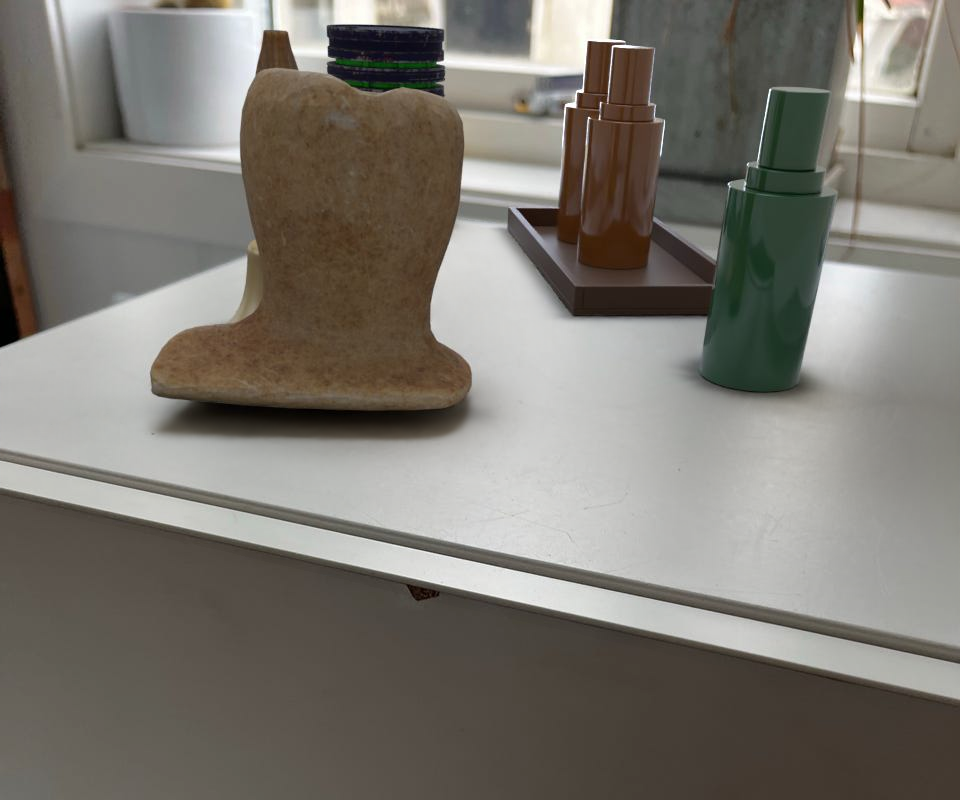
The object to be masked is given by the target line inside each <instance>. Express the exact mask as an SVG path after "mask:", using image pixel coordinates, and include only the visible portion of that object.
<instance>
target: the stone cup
mask: <svg viewBox="0 0 960 800" xmlns="http://www.w3.org/2000/svg"><path fill="white" fill-rule="evenodd" d="M464 156H465V131H464V122H463V120H462V117H461V115H460V112H459V111H458V109H457V107H456V105H455V104H454V103H452V102H451V101H449V100H448V99H446V98H445V97H444V98H443V97H441V96H439V95H435V94H432V93H429V92H425V91H421V90H417V89H410V88H404V87H401V88H398V89H393V90H390V91H386V92H383V93H376V92H366V91H361V90H359V89H357V88H354V87H351V86H350V85H349V84H348V83H346V82H344V81H342V80H340V79H338V78H336V77H334V76H332V75H330V74H328V73H326V72H325V73H323V72H316V71H309V70H299V69H298V70H295V69H285V68H270V69H265V70H262V71H261V72H259V73H258V74H257V75H256V76H255V75H254V77H253V79H252V81H251V83H250V85H249V87H248V89H247V92H246V95H245V98H244V102H243V105H242V109H241V117H240V128H239V158H240V159H239V161H240V171H241V179H242V182H243V187H244V193H245V198H246V205H247V209H248V214H249V218H250V225H251V227H252V231H253V234H254V238H255V239H256V243H257V247H258V251H259V256H260V261H261V265H262V274H263V295H262V299H261V301H260V304H259V306H258V307H257V309H256V310H255V311H254V312H253V313H252V314H251V315H249V316H247V317H246V318H244V319H243V320H241V321H239V322H235V323H228V322H227V323H215V324H209V325H207V324H206V325H199V326H193V327H191V328H185V329H184V330H182V331H180V332H178V333H176V334H174V336H172V337H171V338H170V339H168V341H167V342H166V343H165V344H164V345H163V346H162V347H161V349H160V351H159V352H158V354H157V356H156V357H155V359H154V360H153V363H152V365H151V367H150V371H149V376H150V386H151V388H150V389H151V390H150V391H151V394H152V395H154V396H156V397H158V398H163V399H169V400H179V401H190V402H198V403H199V402H200V403H212V404H214V403H215V404H226V405H237V406H250V407H252V406H253V407H266V408H280V409H296V410H297V409H299V410H302V409H311V410H331V411H333V410H334V411H369V412H371V411H372V412H373V411H375V412H376V411H422V410H423V411H424V410H439V409H445V408H449V407H451V406H454V405H456V404H458V403H460V402H461V401H462V400H463V399H464V398H465V397H466V396H467V395H468V393H469V392H470V391H471V389H472V385H473V372H472V369H471V366H470V364H469V363H468V362H467V360H466V359H465V358H464V357H463V356H462V355H461V354H460V353H458V352H457V351H455V350H454V349H452V348H450V347H449V346H448V345H446V344H444V343H442V342H440V341H438V340H437V338H436V336H435V334H434V333H433V331H432V327H431V326H432V325H431V312H432V311H431V309H432V308H431V306H432V301H433V296H434V295H433V294H434V289H435V286H436V282H437V279H438V275H439V272H440V269H441V267H442V264H443V262H444V259H445V256H446V253H447V250H448V247H449V244H450V241H451V238H452V236H453V232H454V228H455V224H456V221H457V217H458V213H459V207H460V203H461V192H462V191H461V189H462V179H463V166H464ZM255 239H254V240H255Z"/></svg>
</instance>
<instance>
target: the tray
mask: <svg viewBox="0 0 960 800" xmlns="http://www.w3.org/2000/svg"><path fill="white" fill-rule="evenodd" d="M557 214H558V206H508V207H507V227H506V229H507V231H508V232H509V233H510V235H511V236H512V238H513V239H514V240H515V242H517V244H518V245H519V247H520V248H521V249H522V250H523V252H524V253H525V254H526V256H527V257H528V258H529V260H530V261H531V262H532V264H533V265H534V266H535V268H536V269H537V270H538V271H539V273H540V274H541V276H542V277H543V278H544V279H545V281H546V282H547V283H548V284H549V286H550V287H551V288H552V290H553V291H554V293H556V295H557V296H558V297H559V299H560V300H561V301H562V302H563V304H564V305H565V307H566V308H567V309H568V310H569V312H570V313H571V314H572V315H573V316H654V315H655V316H666V315H667V316H668V315H669V316H673V315H675V316H676V315H687V316H689V315H694V316H695V315H697V316H698V315H708V311H709V304H710V298H711V291H712V285H713V279H714V272H715V266H716V259H715V258H714V257H712V256H711V255H709V254H708V253H706V252H705V251H704V250H702V249H701V248H699V247H698V246H696V245H695V244H693V242H691V241H689V240H688V239H687V238H685V237H683V235H681V234H679V233H678V232H677V231H675V230H674V229H672V228H671V227H670V226H668V225H666V224H665V223H664V222H662V221H661V220H660V219H658V218H657V217H655V216H654V217H653V225H652V233H651V242H650V250H649V258H648V264H647V265H646V266H644V267H641V268H636V269H622V270H619V269H604V268H597V267H592V266H588V265H585V264H582V263H580V262H578V261H577V258H576V257H577V244H571V243H566V242H563V241H560V240H559V239H557V238H556V228H557Z"/></svg>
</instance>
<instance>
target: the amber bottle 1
mask: <svg viewBox="0 0 960 800" xmlns="http://www.w3.org/2000/svg"><path fill="white" fill-rule="evenodd" d="M613 46H626V41H624V40H618V39H617V40H616V39H596V38H595V39H586V44H585V57H584V67H583V69H584V70H583V82H582V89H578V90H576V91H575V92H576V93H575V102H570V103H566V104H565V105H564V116H563V131H562V142H561V143H562V144H561V145H562V146H561V159H560V172H559V173H560V174H559V188H558V199H557V201H558V202H557V207H558V214H557V228H556V238H557V239H559V240H560V241H563V242H566V243H571V244H577V245H578V233H579V221H580V208H581V196H582V184H583V172H584V160H585V148H586V136H587V123H588V117H589V116H591V115H597V114H599V111H600V102H601V101H605V100H607V99H608V88H609V77H610V66H611V55H612V47H613Z"/></svg>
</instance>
